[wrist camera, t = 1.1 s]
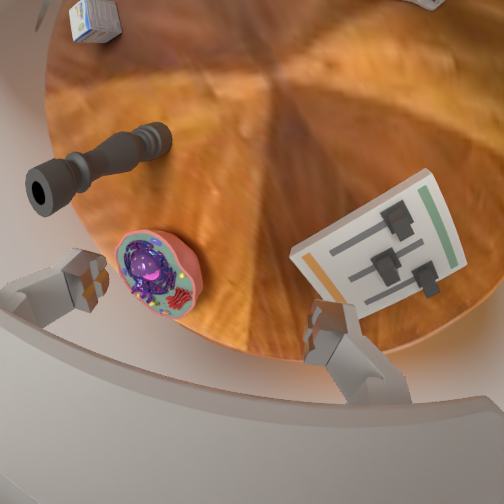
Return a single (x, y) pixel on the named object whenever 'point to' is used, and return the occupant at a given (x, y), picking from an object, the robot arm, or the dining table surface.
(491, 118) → the dining table surface
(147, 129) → the candle holder
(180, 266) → the cell model
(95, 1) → the medicine box
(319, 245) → the panel
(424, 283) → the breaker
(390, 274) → the breaker
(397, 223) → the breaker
